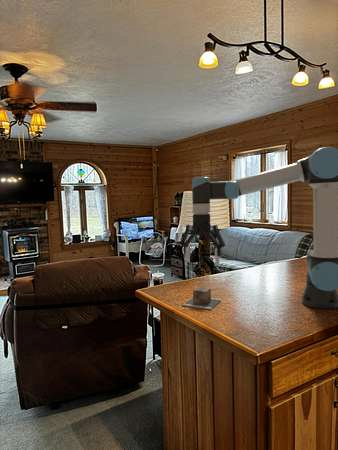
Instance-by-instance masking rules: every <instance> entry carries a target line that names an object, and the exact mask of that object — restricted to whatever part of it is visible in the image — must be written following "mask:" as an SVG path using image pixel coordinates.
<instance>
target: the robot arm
mask: <svg viewBox="0 0 338 450" xmlns="http://www.w3.org/2000/svg"><path fill="white" fill-rule="evenodd" d="M191 181H192V182H191V184H192V185H191V193H192V195H191V196H192V197H191V198H192V213H193V214H192V224H186V225H185V231H184V233H183V234H182V235H183V236H182V237H181V240H180V241H179V245H180V246H182V247H183V254H184V255H185V262H186V263H189V262H191V251H190V250H191V249H190V246H189V245H190V243H191V242H192V241H193V240H194V238H195V237H196V236H206V237H208V239H209V240H210V241H211V242H212V244H213V245H214V246H215V248H214V261H215V262H214V264H215V265H218V264H219V263H220V257H221V256H222V248H224V247H226V243H225V241H224V239H223V237H222V235H221V233H220V230H219V226H218V224H213V225H212V224H211V214H210V213H211V200H233V199H234V200H236V199H238V198H239V197H241V196H244V195H249V194H252V193H256V192H260V191H264V190H269V189H273V188H276V187H281V186H284V185H287V184H292V183H295V182H302V183H306V182H308V186H310V187H311V188H312V211H313V212H312V213H313V214H312V219H313V221H312V222H313V223H312V224H313V225H312V226H313V229H312V231H313V233H312V235H313V242H312V243H313V250H308V251H307V253H306V257H305V258H306V274H305V275H306V276H305V278H306V281H305V282H306V283H305V287H304V290H303V293H302V296H301V304H303V305H304V306H307V307H310V308H313V309H317V310H318V309H320V310H333V309H334V310H335V309H338V149H337V148H336V147H333V146H324V147H320V148H318V149H315V150H314V151H313V152H312V154H311V155H309V156H307V157H305V158H302V159H298V160H297V161H296V162H295V163H292V164H289V165H284V166H280V167H277V168H274V169H270V170H266V171H263V172H260V173H255V174H251V175H248V176H245V177H241V178H238V179H233V180H221V181H213V180H212V181H211V179H210V176H209V177H208V176H197V177H194V178H192V180H191ZM191 230H193V231H192V233H191ZM211 230H212V231H213V233H214V235H215V236H214V235H213V233H212V232H211ZM190 233H191V235H190V236H189V234H190ZM188 236H189V237H188Z"/></svg>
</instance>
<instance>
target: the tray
mask: <svg viewBox="0 0 338 450" xmlns="http://www.w3.org/2000/svg"><path fill="white" fill-rule="evenodd" d="M221 302H222V299H220V298H213V297H211V302H210V303H208V304H207V305H199V304H193V297H192V298H190V299H189V300H187V301H186V302H185V303H182V307H186V308H187V307H188V308H193V309H199V310H205V311H212V310H213V309H214V308H215V307H216V306H218V305H219V304H220V303H221Z"/></svg>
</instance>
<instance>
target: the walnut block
mask: <svg viewBox="0 0 338 450" xmlns="http://www.w3.org/2000/svg"><path fill="white" fill-rule="evenodd" d="M192 298H193V304H199V305H207V304H208V303H210V302H211V298H212V288H211V287H204V286H197V287H195V288H193V289H192Z"/></svg>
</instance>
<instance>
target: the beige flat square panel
mask: <svg viewBox="0 0 338 450" xmlns="http://www.w3.org/2000/svg"><path fill="white" fill-rule="evenodd" d="M220 308H221V306H217V307H216V308H215V309H216V310H219V309H220ZM221 310H223V311H229V309H227V308H221Z"/></svg>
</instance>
